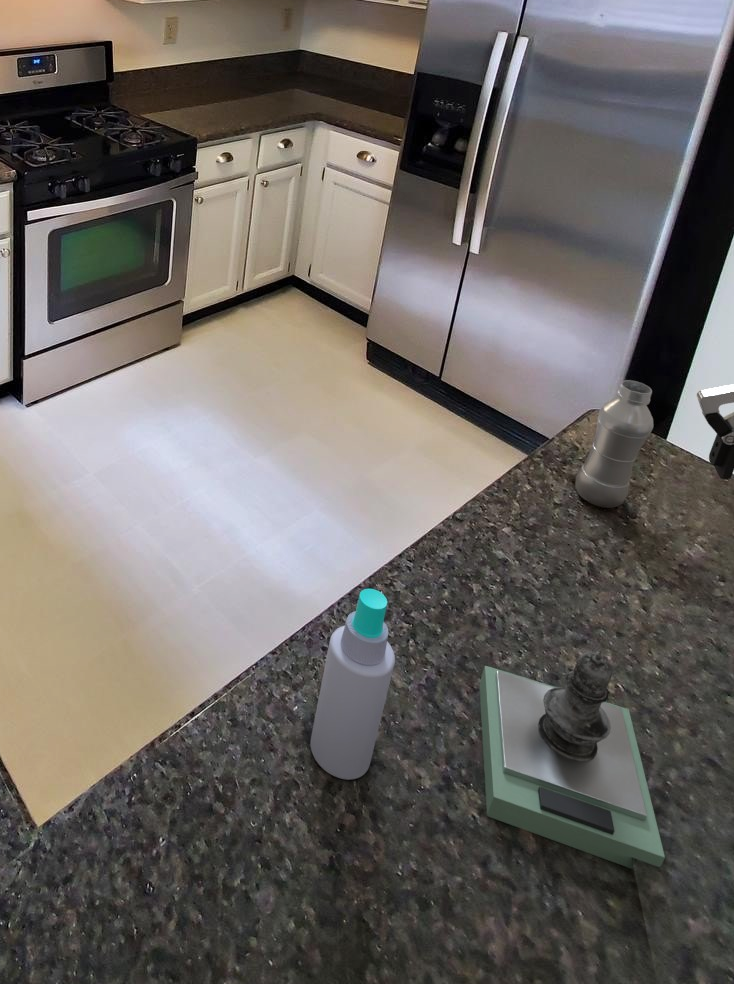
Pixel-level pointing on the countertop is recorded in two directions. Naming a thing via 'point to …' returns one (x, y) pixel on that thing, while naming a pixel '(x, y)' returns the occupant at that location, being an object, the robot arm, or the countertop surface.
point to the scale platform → (535, 761)
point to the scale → (564, 800)
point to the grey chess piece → (578, 710)
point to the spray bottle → (353, 690)
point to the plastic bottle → (616, 446)
